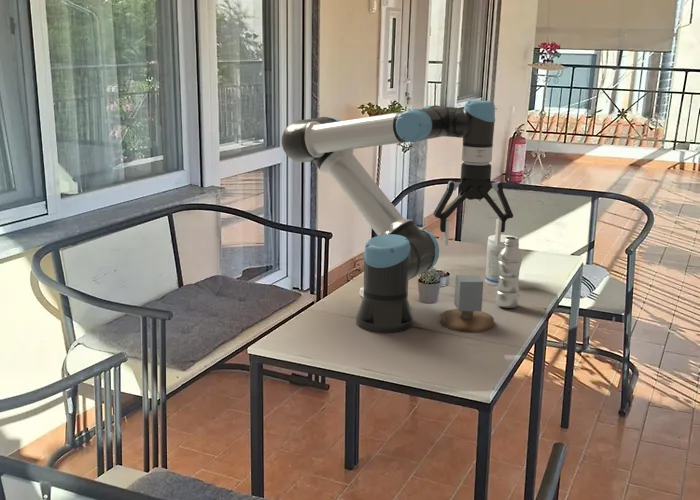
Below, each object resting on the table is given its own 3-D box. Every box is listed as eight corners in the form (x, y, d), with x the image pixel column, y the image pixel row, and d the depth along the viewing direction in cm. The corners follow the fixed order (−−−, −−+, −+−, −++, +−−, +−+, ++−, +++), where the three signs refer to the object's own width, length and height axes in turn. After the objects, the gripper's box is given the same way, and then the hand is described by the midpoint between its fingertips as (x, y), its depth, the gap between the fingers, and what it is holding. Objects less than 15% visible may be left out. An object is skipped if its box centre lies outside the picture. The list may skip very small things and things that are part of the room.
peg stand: (445, 332, 203) (447, 289, 200) (436, 313, 216) (438, 273, 213) (499, 331, 204) (502, 289, 201) (486, 313, 217) (489, 273, 214)
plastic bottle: (518, 311, 220) (524, 241, 215) (494, 309, 221) (499, 240, 216) (518, 304, 226) (524, 236, 221) (494, 302, 227) (499, 234, 222)
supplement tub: (489, 277, 251) (493, 232, 248) (519, 282, 247) (523, 236, 244) (480, 285, 243) (483, 239, 239) (510, 290, 239) (514, 243, 235)
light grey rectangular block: (458, 311, 206) (460, 281, 204) (454, 303, 212) (455, 275, 210) (481, 311, 206) (483, 281, 204) (476, 303, 212) (478, 275, 210)
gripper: (430, 164, 195) (426, 247, 200) (529, 165, 197) (522, 248, 202) (425, 160, 202) (421, 240, 207) (520, 161, 204) (514, 240, 209)
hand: (471, 244), depth 205 cm, fingers open, 13 cm apart
